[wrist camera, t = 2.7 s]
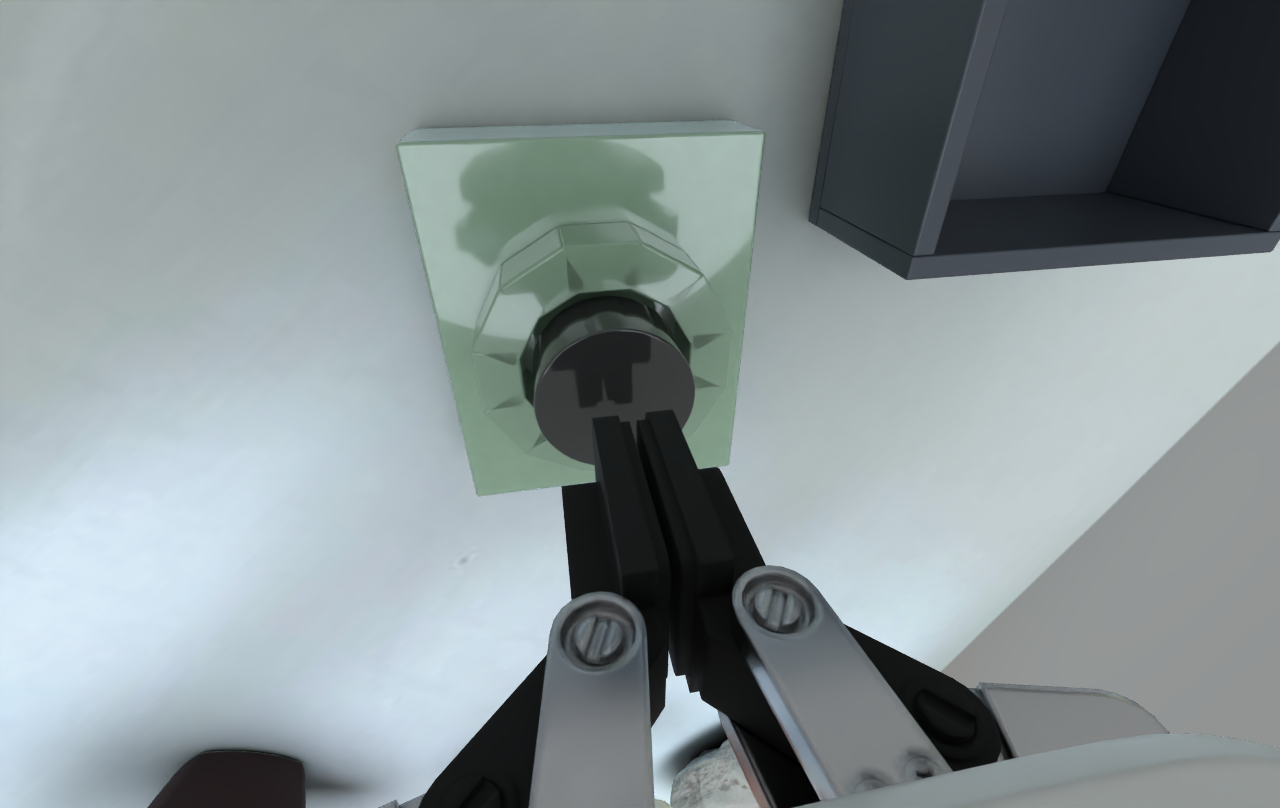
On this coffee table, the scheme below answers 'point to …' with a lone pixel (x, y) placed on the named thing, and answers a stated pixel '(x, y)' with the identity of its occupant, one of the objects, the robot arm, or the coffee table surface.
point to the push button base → (580, 265)
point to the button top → (606, 371)
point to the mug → (235, 782)
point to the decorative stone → (712, 782)
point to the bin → (1051, 133)
